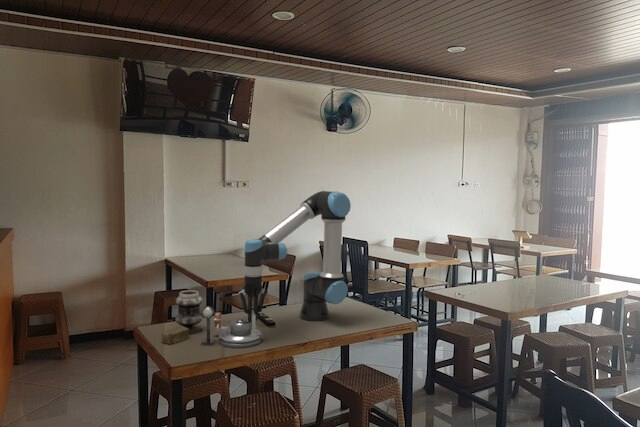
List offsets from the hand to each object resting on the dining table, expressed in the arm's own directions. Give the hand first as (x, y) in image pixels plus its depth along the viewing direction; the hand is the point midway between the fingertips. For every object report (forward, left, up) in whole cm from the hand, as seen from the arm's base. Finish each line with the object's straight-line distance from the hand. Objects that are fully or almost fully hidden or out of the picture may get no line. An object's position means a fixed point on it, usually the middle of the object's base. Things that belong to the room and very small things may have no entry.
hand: (252, 328), depth 214 cm
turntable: (+7, +2, -3) cm, 8 cm away
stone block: (+33, +4, -5) cm, 33 cm away
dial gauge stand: (+16, +7, -5) cm, 18 cm away
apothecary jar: (+31, -9, -5) cm, 33 cm away
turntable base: (+5, +3, -5) cm, 7 cm away
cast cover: (+5, +2, -2) cm, 6 cm away
